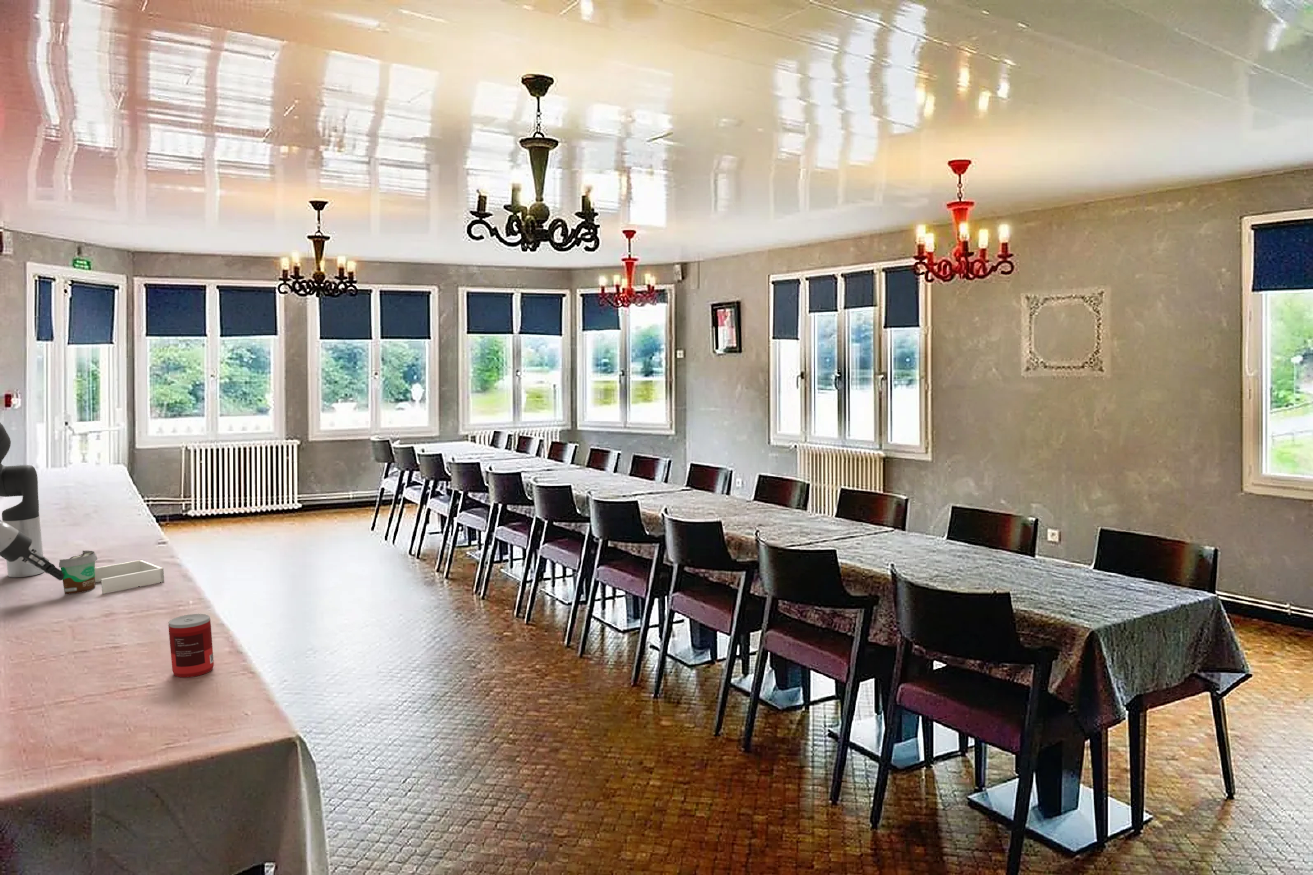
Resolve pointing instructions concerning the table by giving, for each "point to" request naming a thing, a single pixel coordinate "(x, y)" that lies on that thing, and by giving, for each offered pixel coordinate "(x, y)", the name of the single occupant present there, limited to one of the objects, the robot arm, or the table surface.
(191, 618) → the canned food
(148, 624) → the table surface
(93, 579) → the food container
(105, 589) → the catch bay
